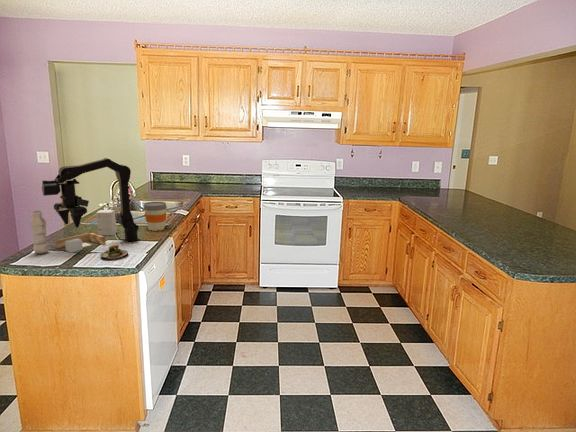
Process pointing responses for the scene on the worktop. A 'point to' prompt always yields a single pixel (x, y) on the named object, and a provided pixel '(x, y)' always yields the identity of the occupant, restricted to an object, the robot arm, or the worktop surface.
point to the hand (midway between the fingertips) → (71, 225)
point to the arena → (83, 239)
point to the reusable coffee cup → (155, 215)
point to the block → (73, 245)
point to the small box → (106, 222)
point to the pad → (85, 244)
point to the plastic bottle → (39, 233)
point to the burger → (113, 252)
